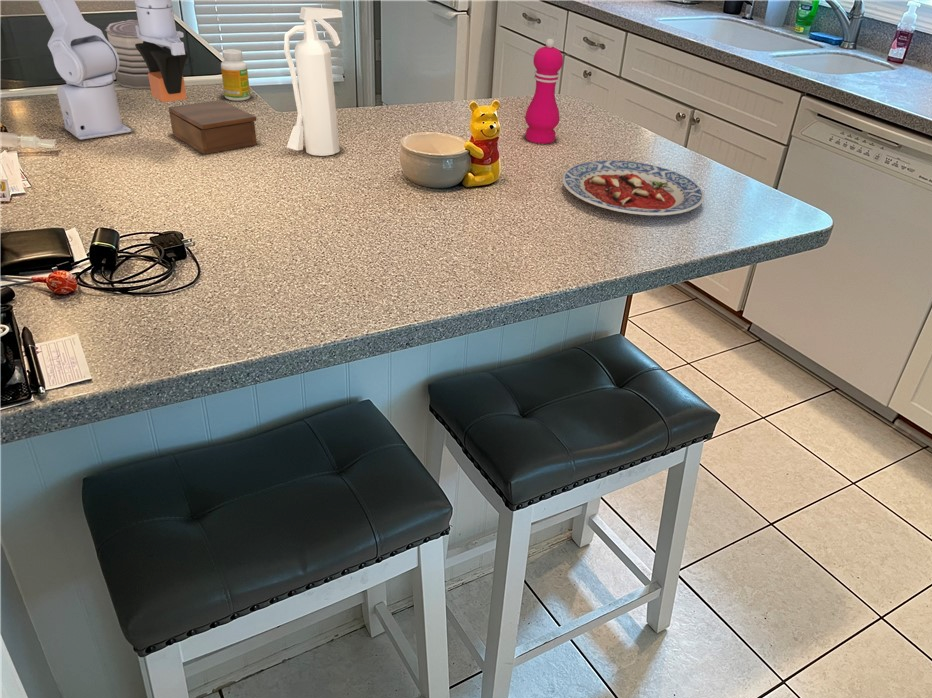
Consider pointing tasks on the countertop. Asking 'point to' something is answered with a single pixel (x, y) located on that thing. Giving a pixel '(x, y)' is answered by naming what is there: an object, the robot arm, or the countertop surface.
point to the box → (214, 135)
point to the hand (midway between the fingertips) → (168, 89)
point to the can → (128, 55)
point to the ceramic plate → (633, 187)
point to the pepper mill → (544, 95)
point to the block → (160, 90)
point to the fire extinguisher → (314, 84)
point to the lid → (212, 114)
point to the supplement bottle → (235, 76)
